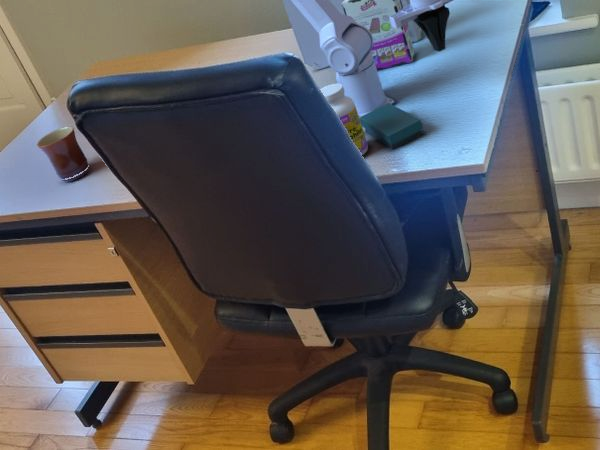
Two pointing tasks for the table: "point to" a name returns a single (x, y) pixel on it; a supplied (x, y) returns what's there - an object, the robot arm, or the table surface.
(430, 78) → the table surface
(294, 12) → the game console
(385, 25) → the candy bar box
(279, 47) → the table surface
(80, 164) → the mug
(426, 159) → the table surface
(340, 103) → the supplement bottle
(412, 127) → the teal flat panel
